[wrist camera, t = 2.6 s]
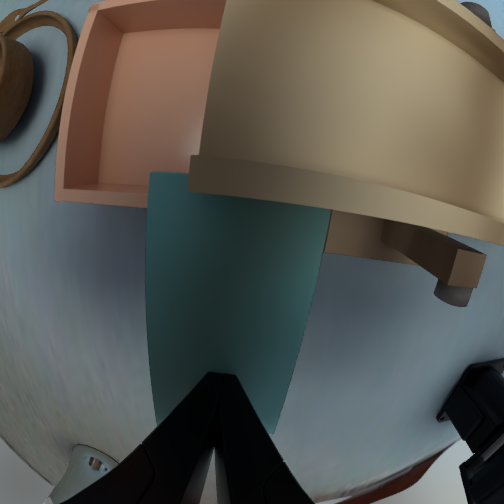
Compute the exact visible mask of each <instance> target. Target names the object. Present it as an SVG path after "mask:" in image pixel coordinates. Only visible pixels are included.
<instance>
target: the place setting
mask: <svg viewBox="0 0 504 504" xmlns="http://www.w3.org/2000/svg"><path fill="white" fill-rule="evenodd" d="M46 1H47V0H40V1H39V2H37V3H35V4H33V5H31V6H29V7H27V8H24V9H18V10H15V11H13V12H12V13H10V14H9V15H8V16H7V17H6V18H5V19H4V20H3V21H2V22H1V23H0V33H2V34H1V35H0V142H1V141H2V140H3V139H5V138H6V137H7V136H8V135H9V133H10V132H11V131H12V130H13V128H14V127H15V126H16V124H17V123H18V121H19V119H20V117H21V116H22V114H23V113H24V111H25V109H26V107H27V105H28V103H29V100H30V97H31V93H32V86H33V77H34V65H33V59H32V56H31V54H30V52H29V50H28V49H27V48H26V47H25V46H24V45H23V44H21V43H20V42H18V41H16V39H17V38H18V37H19V36H21V35H22V34H24V33H25V32H27V31H29V30H31V29H34V28H36V27H40V26H54V27H56V28H58V29H60V30H61V31H62V32H63V33H64V34H65V35H66V37H67V42H68V59H67V67H66V74H65V78H64V82H63V87H62V90H61V93H60V97H59V100H58V103H57V105H56V108H55V111H54V114H53V116H52V118H51V121H50V123H49V125H48V127H47V129H46V131H45V133H44V135H43V137H42V139H41V141H40V143H39V144H38V146H37V148H36V150H35V151H34V153H33V154H32V155H31V157H30V158H29V160H28V161H27V162H26V163H25V165H24V166H23V167H22V168H21V169H20V170H19V171H17V172H15V173H13V174H9V175H0V188H3V187H7V186H9V185H11V184H13V183H15V182H17V181H18V180H20V179H21V178H22V177H24V176H25V175H26V174H27V173H28V172H29V171H30V170H32V169H33V167H34V166H35V165H36V164H37V163H38V162H39V161H40V159H41V158H42V156H43V155H44V154H45V152H46V151H47V149H48V148H49V146H50V144H51V143H52V141H53V140H54V138H55V136H56V134H57V132H58V130H59V128H60V121H61V115H62V108H63V103H64V97H65V92H66V87H67V83H68V78H69V74H70V70H71V66H72V62H73V58H74V55H75V51H76V48H77V40H76V35H75V33H74V31H73V28H72V26H71V25H70V24H69V22H68V21H67V20H66V19H65V18H64V17H62V16H61V15H59V14H58V13H55V12H53V11H38V12H35V13H32V14H29V15H27V16H25V17H23V16H24V15H25V14H26V13H28V12H29V11H31V10H32V9H34V8H36V7H37V6H39V5H41V4H43V3H44V2H46ZM19 14H20V16H19V18H18V19H17V20H16V21H14V20H15V17H16V16H17V15H19ZM22 17H23V18H22Z"/></svg>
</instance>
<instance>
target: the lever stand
mask: <svg viewBox="0 0 504 504" xmlns="http://www.w3.org/2000/svg"><path fill="white" fill-rule="evenodd" d="M460 4H462V5H463V6H464V7H466V8H467V9H468V10H470V11H471V12H472V13H473V14H475V15H476V16H477V17H478V18H480V19H481V20H482V21H483V22H484V23H486V24H487V25H488V26H489V27H490V28H491V27H492V26H491V21H490V17H489V13H488V11H487V10H486V9H485V8H484V7H482V6H481V5H479V4H476V3H473V2H463V3H460ZM491 29H492V30H494V29H493V28H491ZM494 31H495V30H494ZM323 251H324V252H325V253H333V254H340V255H348V256H355V257H362V258H369V259H376V260H384V261H391V262H398V263H405V264H412V265H419V266H421V267H422V268H424V269H425V270H427V271H428V272H430V273H431V274H432V275H434V276H435V277H437V278H438V282H437V285H436V288H435V291H434V294H435V296H436V297H438V298H439V299H440V300H442V301H444V302H446V303H448V304H451V305H454V306H458V307H466V306H467V304H468V302H469V299H470V296H471V293H472V290H473V288H477V285H478V282H479V279H480V276H481V273H482V270H483V266H484V263H485V259H486V256H487V255H485V254H483V253H481V252H479V251H477V250H475V249H473V248H471V247H469V246H467V245H465V244H463V243H461V242H459V241H456V240H454V239H452V238H450V237H448V232H446V231H442V230H437V229H433V228H428V227H423V226H418V225H414V224H409V223H404V222H399V221H394V220H389V219H383V218H378V217H372V216H367V215H361V214H356V213H350V212H344V211H338V210H332V209H331V212H330V218H329V223H328V229H327V234H326V239H325V244H324V249H323Z"/></svg>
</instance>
